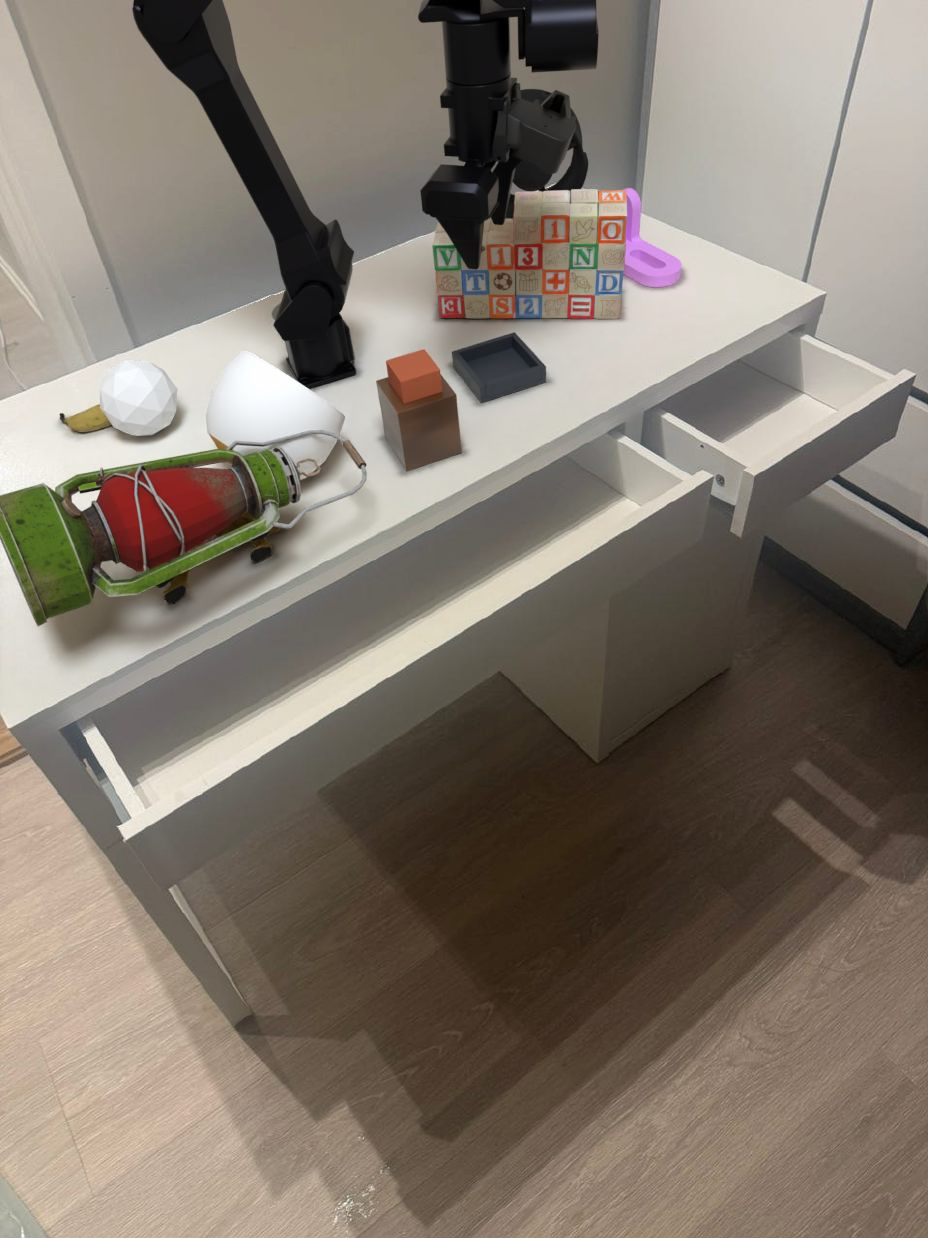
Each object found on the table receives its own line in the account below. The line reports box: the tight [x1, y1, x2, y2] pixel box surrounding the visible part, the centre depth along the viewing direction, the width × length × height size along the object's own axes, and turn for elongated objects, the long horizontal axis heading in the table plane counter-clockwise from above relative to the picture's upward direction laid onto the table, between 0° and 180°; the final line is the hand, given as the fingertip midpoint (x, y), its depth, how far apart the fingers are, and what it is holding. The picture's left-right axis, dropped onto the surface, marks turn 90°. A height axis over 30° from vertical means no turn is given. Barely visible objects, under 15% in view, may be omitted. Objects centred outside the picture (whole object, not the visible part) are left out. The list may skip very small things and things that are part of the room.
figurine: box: [154, 512, 281, 605], centre depth 84 cm, size 15×6×13 cm
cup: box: [205, 349, 346, 481], centre depth 88 cm, size 12×12×10 cm
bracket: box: [622, 187, 683, 288], centre depth 112 cm, size 13×6×7 cm, turn 35°
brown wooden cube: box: [375, 374, 462, 472], centre depth 91 cm, size 6×6×7 cm
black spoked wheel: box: [506, 88, 589, 219], centre depth 119 cm, size 14×14×10 cm
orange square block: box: [385, 348, 442, 404], centre depth 87 cm, size 4×4×2 cm
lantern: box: [0, 430, 368, 627], centre depth 77 cm, size 14×11×30 cm
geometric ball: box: [99, 359, 178, 437], centre depth 96 cm, size 8×8×8 cm
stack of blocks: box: [432, 188, 627, 320], centre depth 105 cm, size 21×6×12 cm, turn 84°
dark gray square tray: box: [451, 331, 547, 404], centre depth 100 cm, size 8×8×2 cm
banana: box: [58, 403, 112, 433], centre depth 99 cm, size 10×2×4 cm
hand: (486, 245), depth 92 cm, fingers open, 9 cm apart
